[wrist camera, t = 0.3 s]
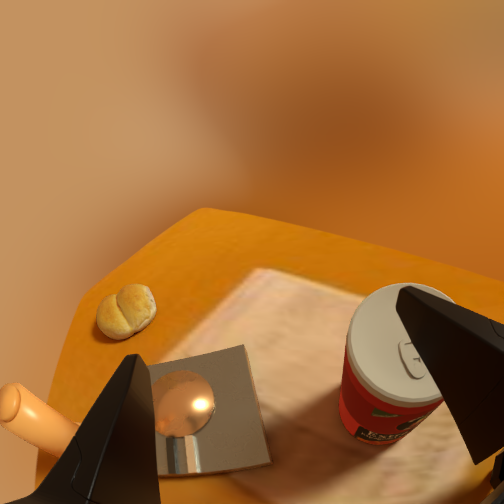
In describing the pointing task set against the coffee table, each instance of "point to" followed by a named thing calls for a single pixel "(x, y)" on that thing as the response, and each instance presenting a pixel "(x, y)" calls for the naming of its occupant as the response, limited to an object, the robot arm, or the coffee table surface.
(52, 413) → the tapered peach knob
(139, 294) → the bread roll
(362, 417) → the canned food
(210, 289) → the coffee table surface
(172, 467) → the plate
